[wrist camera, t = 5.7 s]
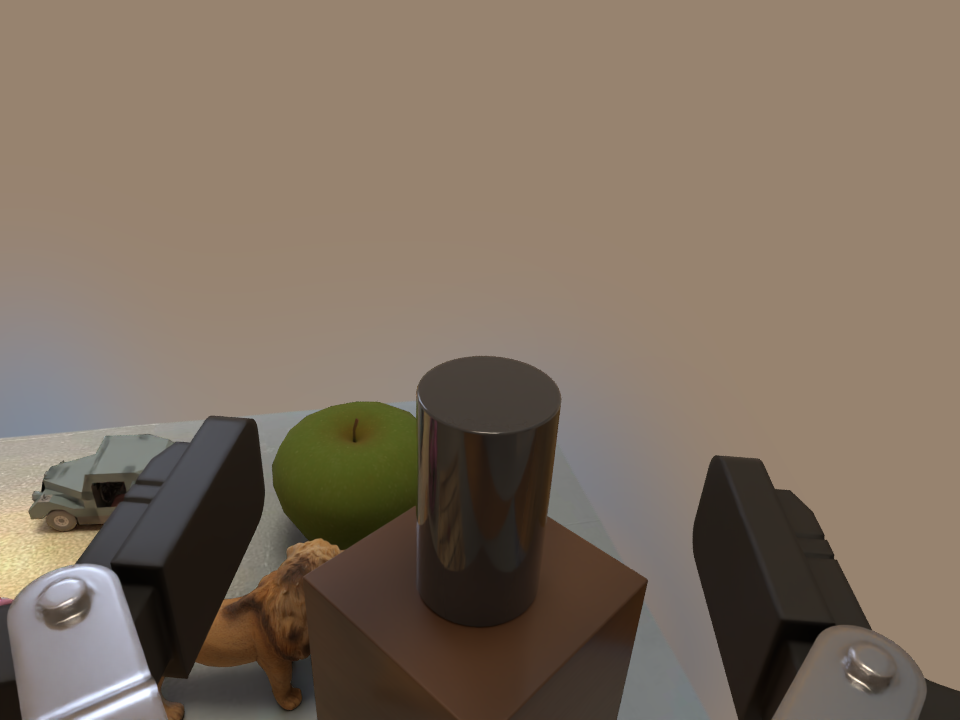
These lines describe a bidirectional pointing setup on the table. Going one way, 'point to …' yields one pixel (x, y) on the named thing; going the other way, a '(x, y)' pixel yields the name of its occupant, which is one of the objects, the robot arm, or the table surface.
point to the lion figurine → (265, 626)
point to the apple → (347, 471)
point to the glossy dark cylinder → (483, 486)
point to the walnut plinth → (469, 637)
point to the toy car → (94, 481)
